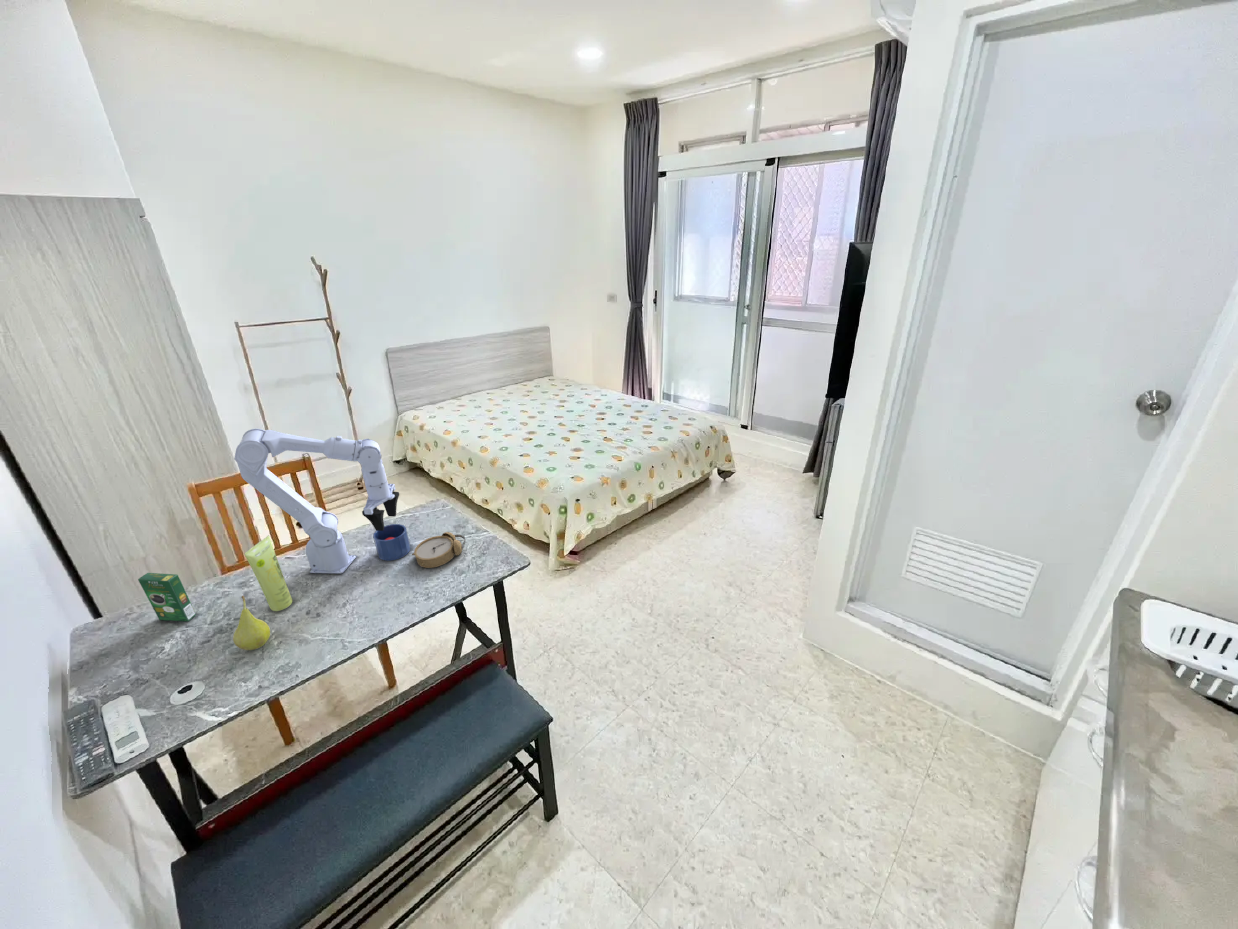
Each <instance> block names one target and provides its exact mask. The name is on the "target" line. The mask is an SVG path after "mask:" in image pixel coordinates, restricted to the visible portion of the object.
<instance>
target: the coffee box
mask: <svg viewBox="0 0 1238 929" xmlns="http://www.w3.org/2000/svg"><path fill="white" fill-rule="evenodd" d="M137 580H138V583H139V585H140V586H141V589H142V590H143V592H144V594H145V596H146V597H147V599H148V601H149V603H150V605H151V607H152V609H153V611H154V613H155V615H156V616H157V619H158V620H159V621H164V622H167V621H169V622H171V621H172V622H187V623H189V622H190V621H191V620H192V619H194V618H195V617H196V616H197V613H196V611H195V608H194V607H193V605H192V602H191V599H190V597H189V596H188V594H187V591H186V589H185V587H184V584H183V583H182V581H181V578H180V576H179V574H178V573H174V574H173V573H158V572H146V573H145V574H143V575H142V576H140V577H139V578H138V579H137Z"/></svg>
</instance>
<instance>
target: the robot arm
mask: <svg viewBox="0 0 1238 929" xmlns="http://www.w3.org/2000/svg"><path fill="white" fill-rule="evenodd" d="M286 451H288V452H290V451H291V452H304V453H316V454H323V455H324V456H325V457H326V458H327V459H331V460H341V461H347V462H358V463H359V465H360V466H361V470H360V471H361V475H362V478H363V482H364V485H365V490H366V494H367V499H366V502H365V505H364V507H363V508H362V509H363V510H362V511H361V514H362V516H363V517H364V518H366V519H367V520H368V521H369V522H370V523H371V525H372V526H373V528H374V530H375V531H383V530H384V526H385V522H384V516H385V515H384V514H385V513H386V514H387V516H388V517H396V516H397V505H398V500H399V498H400V491H396V485H395V483H389V481H388V477H387V474H386V469H385V465H384V464H383V463H384V462H383V459H382V454H381V447H380V445H379V443H378V442H377V441H375V440H373V439H370V438H364V439H360V438H358V439H357V440H356V439H350V438H349V439H348V438H343V435H336V436H335V437H334V436H331V437H328V438H327V439H318V438H313V437H307V436H302V435H296V434H292V433H291V434H290V433H287V432H281V431H277V430H274V429H266V430H265V429H262V428H251V429H248V430H247V431H245V432H244V434H243V435H242V438H241V440H240V442H239V444H238V445H237V446H236V448H235V453H234V458H233V459H234V461H235V462H236V464H237V467H238V470H239V473H240V476H241V478H242V479H243V480H244V481H245V482H246V483H247V484H249V485H250V486H251V487H253V488H254V489H255V490H257V491H258V492H259V493H260V494H262V495H263V496H264V497H265V498H267V499H268V500H269V501H271V502H272V503H274V504H275V506H277V507H279V508H280V509H282V511H284V512H285V513H287V514H288V515H289V516H291V517H292V518H293V519H294V520H296V522H298V523H299V524H300V525H301V528H302V531H304V533H305V534H306V535H307V536H308V537H309V538H310V539H309V540H308V541H307V543H306V545H305V555H306V558H307V561H308V564H309V566H310V569H311V570H309V574H338V575H339V574H344V572H345V571H346V570H347V569H348V568H349V566H350V565H351V564H352V563H354V561H355V560H356V558H357V555H350V554H349V552H348V548H347V546H346V542H345V539H344V536H343V533H342V532H341V531H339V529H338V525H339V518H338V516H337V515H336V514H335V513H333V512H330V511H326V510H325V509H323V507H318V506H317V507H316V506H314V505H313V504H312V503H310V502H309V501H308V500H307V499H305V497H303V496H302V495H300V494H299V493H298V492H296V491H295V490H294V489H293V488H292V487H291V486H289V485H288V484H287V483H285V481H283V480H282V479H281V478H279V476H277V475H276V474H274V473H273V472H271V470H269V469H268V468H267V467H268V457H269V454H271V458H274V457H277V456H278V455H280V454H282V453H284V452H286ZM380 505H383V507H384V509H379V508H378V507H379V506H380Z"/></svg>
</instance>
